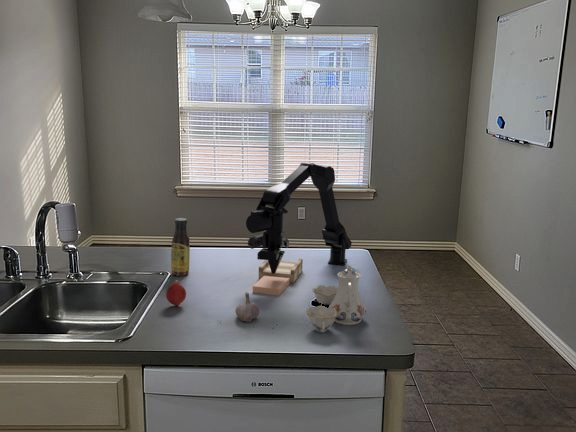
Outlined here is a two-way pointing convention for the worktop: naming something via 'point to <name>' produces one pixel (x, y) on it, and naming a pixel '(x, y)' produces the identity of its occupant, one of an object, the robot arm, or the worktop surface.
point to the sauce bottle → (180, 249)
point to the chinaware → (338, 302)
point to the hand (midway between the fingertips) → (273, 273)
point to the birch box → (282, 269)
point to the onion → (176, 293)
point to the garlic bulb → (247, 310)
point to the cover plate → (271, 285)
